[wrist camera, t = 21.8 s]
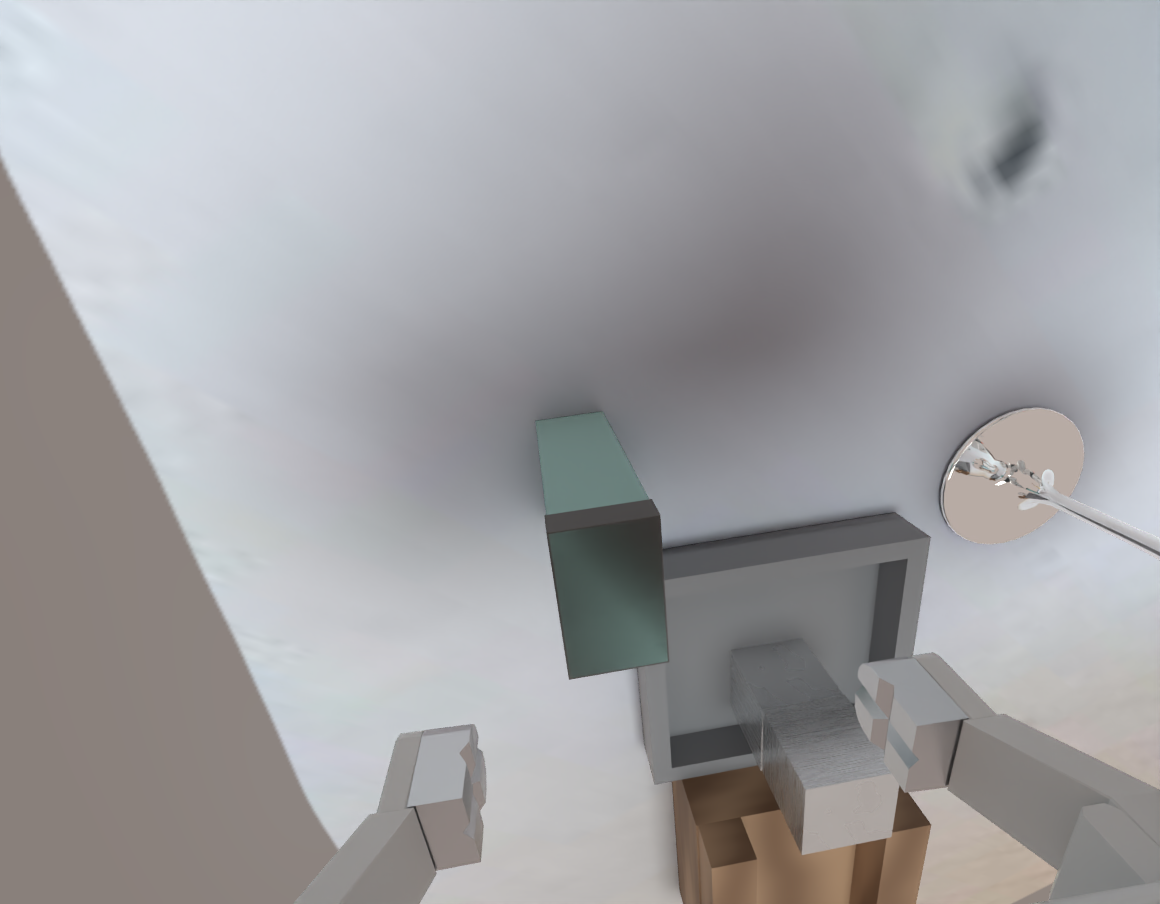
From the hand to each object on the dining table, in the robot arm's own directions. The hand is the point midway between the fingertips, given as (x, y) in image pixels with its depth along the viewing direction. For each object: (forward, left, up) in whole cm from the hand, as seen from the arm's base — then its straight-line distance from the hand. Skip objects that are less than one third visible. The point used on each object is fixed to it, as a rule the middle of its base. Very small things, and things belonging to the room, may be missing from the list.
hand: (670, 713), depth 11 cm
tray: (-8, +12, -14) cm, 20 cm away
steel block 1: (-8, +16, -12) cm, 21 cm away
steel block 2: (-8, +14, -10) cm, 19 cm away
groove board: (-8, +25, -14) cm, 30 cm away
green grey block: (+1, 0, -14) cm, 14 cm away
